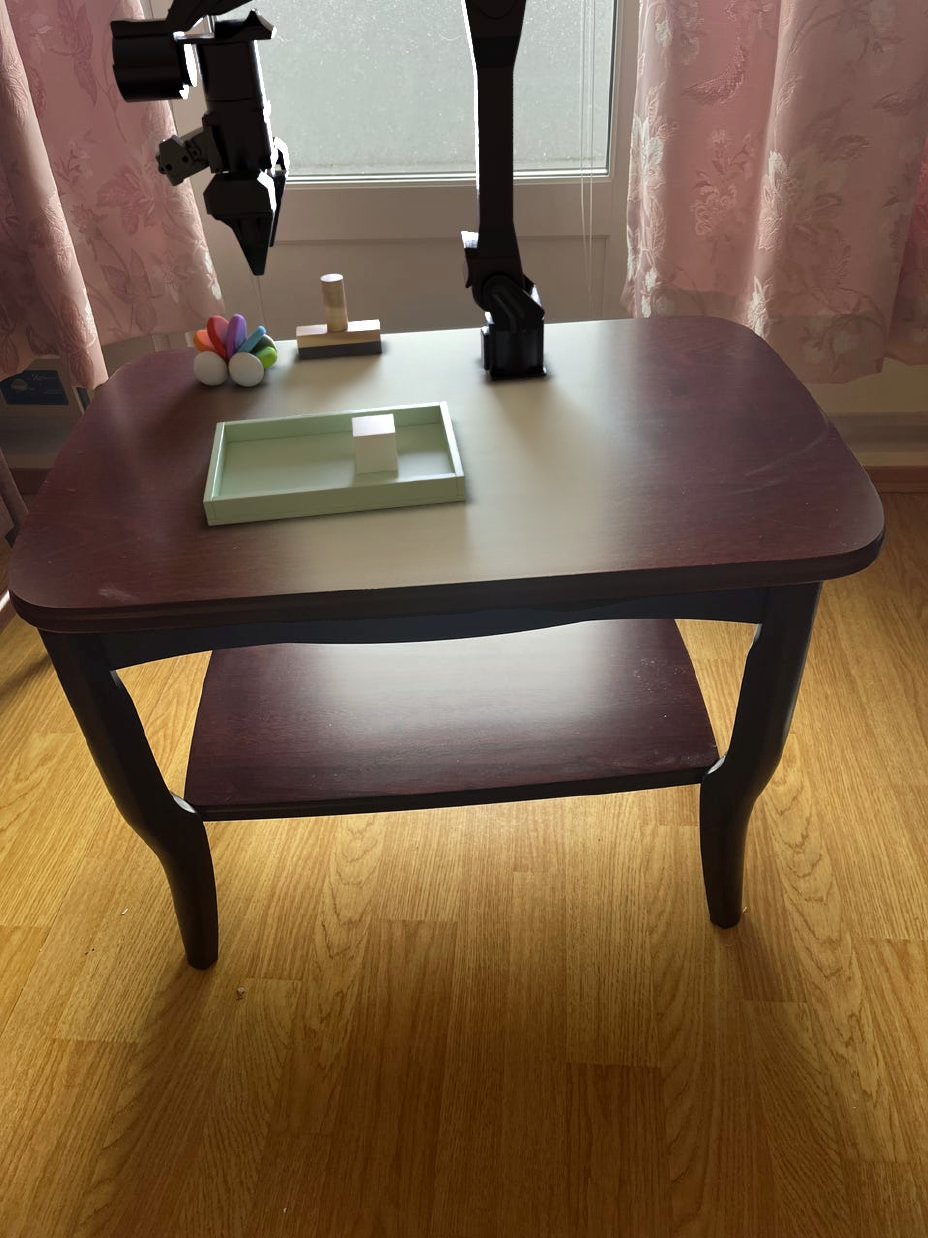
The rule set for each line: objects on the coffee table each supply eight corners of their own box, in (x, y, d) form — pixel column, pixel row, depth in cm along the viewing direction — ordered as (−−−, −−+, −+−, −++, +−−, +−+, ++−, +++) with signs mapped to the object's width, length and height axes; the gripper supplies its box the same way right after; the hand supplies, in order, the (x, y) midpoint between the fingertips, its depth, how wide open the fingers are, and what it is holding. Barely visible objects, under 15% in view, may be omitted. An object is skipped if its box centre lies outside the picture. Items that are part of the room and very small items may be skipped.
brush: (299, 350, 117) (288, 276, 111) (380, 343, 118) (373, 269, 112) (299, 359, 115) (288, 285, 109) (382, 352, 115) (374, 278, 110)
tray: (447, 423, 100) (446, 401, 98) (466, 500, 88) (464, 475, 86) (221, 445, 98) (216, 422, 97) (208, 526, 86) (202, 501, 85)
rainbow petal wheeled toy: (213, 359, 116) (201, 300, 111) (290, 361, 114) (280, 302, 110) (187, 389, 109) (172, 328, 105) (267, 392, 108) (256, 330, 103)
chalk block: (396, 450, 95) (392, 413, 92) (398, 470, 92) (395, 432, 89) (356, 454, 95) (351, 417, 92) (357, 474, 91) (352, 436, 89)
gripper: (169, 83, 98) (202, 238, 108) (129, 121, 84) (171, 296, 94) (276, 76, 99) (300, 231, 108) (255, 113, 84) (284, 289, 94)
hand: (264, 260), depth 101 cm, fingers open, 9 cm apart
